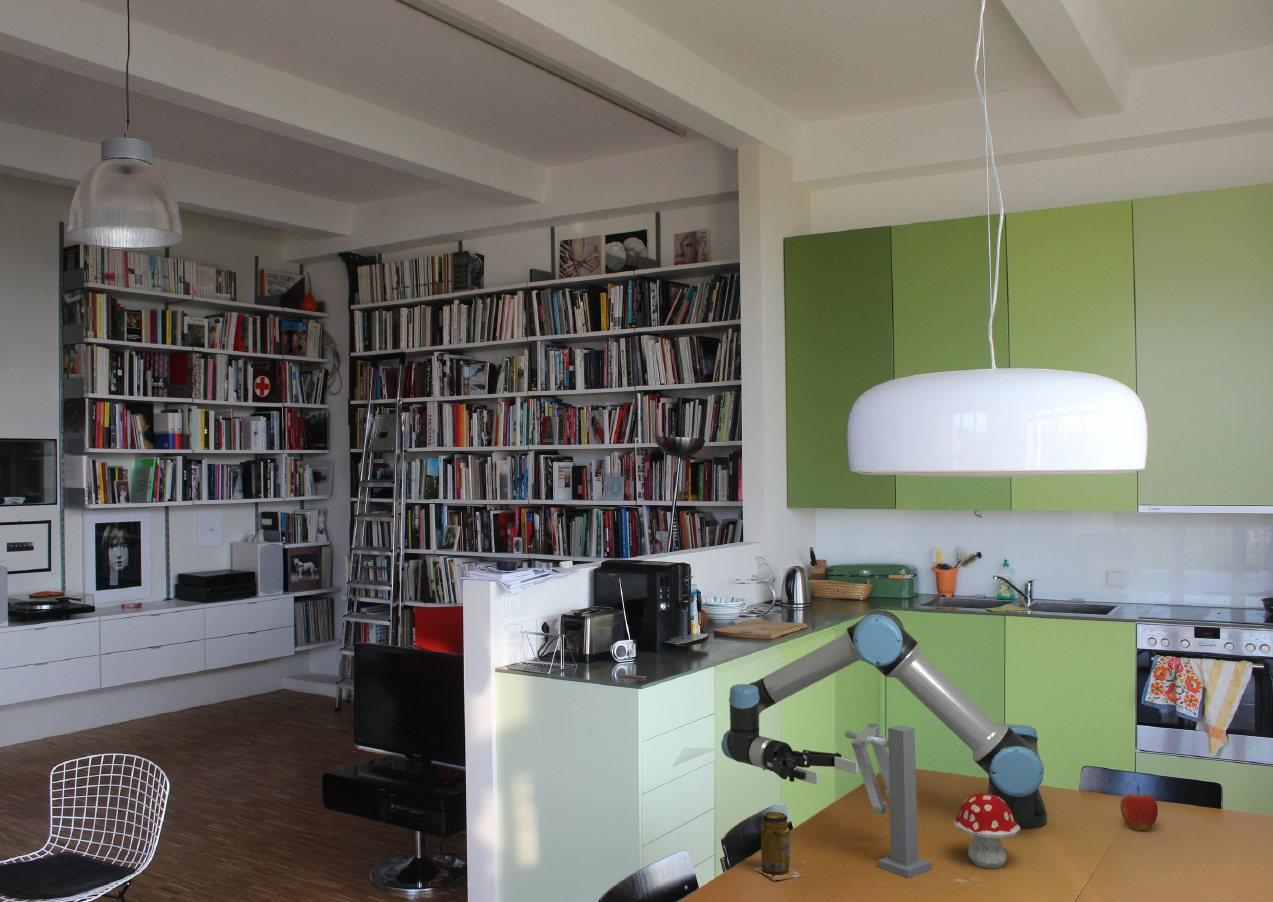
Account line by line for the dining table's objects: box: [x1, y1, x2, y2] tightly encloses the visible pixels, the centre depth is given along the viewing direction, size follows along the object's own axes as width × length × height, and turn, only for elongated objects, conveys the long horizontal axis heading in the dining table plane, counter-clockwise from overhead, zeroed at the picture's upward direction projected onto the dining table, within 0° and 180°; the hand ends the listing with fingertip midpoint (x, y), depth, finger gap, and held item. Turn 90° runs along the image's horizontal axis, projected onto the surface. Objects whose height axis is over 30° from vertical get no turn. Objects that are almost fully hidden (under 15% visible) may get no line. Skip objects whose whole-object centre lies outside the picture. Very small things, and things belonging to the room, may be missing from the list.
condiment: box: [752, 811, 803, 882], centre depth 212 cm, size 7×8×12 cm
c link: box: [850, 722, 890, 815], centre depth 222 cm, size 8×2×18 cm, turn 134°
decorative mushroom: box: [953, 792, 1021, 869], centre depth 216 cm, size 14×14×15 cm
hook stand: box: [844, 725, 932, 879], centre depth 219 cm, size 20×8×30 cm, turn 38°
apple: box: [1119, 785, 1159, 832], centre depth 237 cm, size 8×8×10 cm
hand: (837, 773), depth 229 cm, fingers open, 13 cm apart
